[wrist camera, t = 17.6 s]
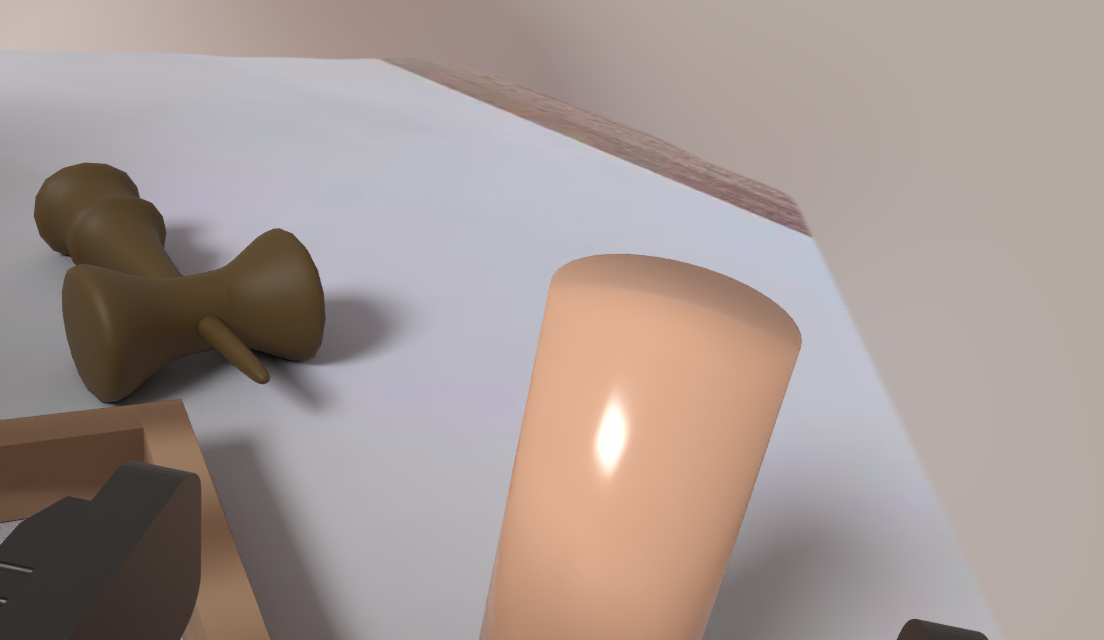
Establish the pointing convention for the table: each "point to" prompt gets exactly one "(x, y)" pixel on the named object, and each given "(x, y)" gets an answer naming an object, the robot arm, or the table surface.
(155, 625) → the robot arm
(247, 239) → the table surface
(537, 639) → the peach cylinder post
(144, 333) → the kendama
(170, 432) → the walnut collar
